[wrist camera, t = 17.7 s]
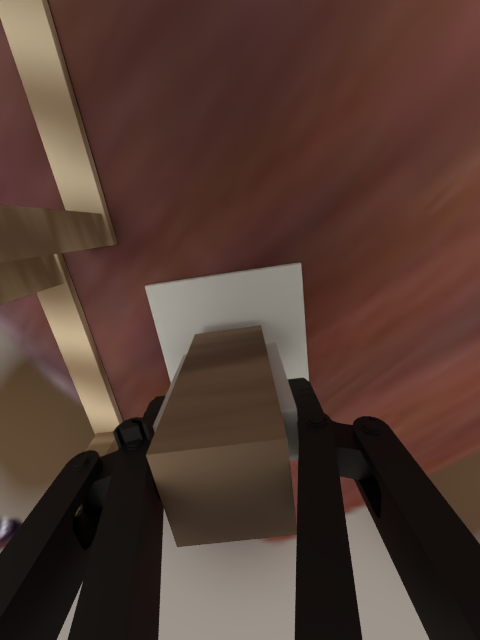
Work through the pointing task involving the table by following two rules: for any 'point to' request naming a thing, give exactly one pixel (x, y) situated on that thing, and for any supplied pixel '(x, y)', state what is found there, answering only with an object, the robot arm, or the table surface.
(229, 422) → the walnut block
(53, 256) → the gate
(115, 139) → the table surface
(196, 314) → the pad
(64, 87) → the gate
